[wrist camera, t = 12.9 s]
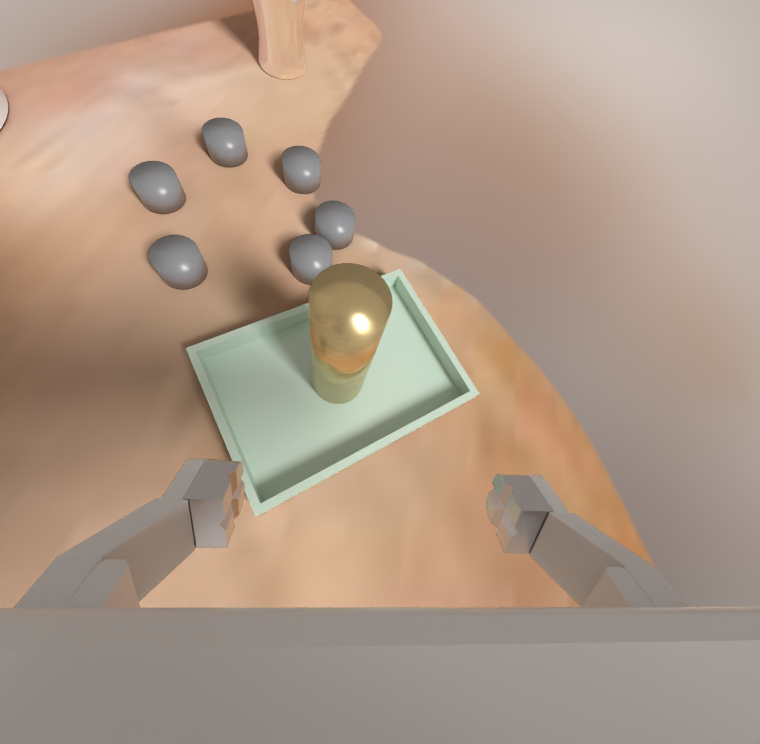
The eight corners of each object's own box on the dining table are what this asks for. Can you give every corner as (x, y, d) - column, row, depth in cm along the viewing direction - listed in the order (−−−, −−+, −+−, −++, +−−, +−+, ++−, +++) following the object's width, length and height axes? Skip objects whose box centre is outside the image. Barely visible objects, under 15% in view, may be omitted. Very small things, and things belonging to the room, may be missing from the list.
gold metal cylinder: (326, 412, 29) (331, 348, 17) (303, 368, 30) (294, 278, 18) (371, 390, 30) (407, 317, 18) (349, 349, 31) (368, 253, 19)
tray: (261, 514, 26) (255, 516, 24) (196, 360, 29) (185, 348, 27) (467, 401, 32) (479, 394, 30) (394, 284, 35) (400, 268, 33)
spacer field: (184, 331, 30) (173, 317, 28) (113, 162, 35) (99, 138, 32) (372, 264, 36) (376, 248, 33) (289, 128, 40) (287, 105, 38)
